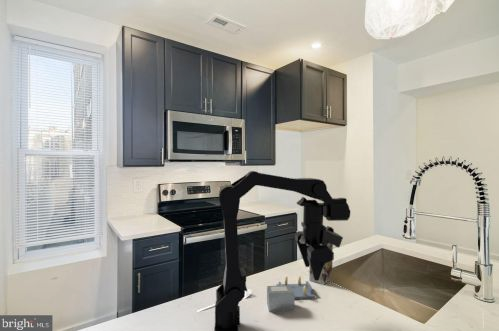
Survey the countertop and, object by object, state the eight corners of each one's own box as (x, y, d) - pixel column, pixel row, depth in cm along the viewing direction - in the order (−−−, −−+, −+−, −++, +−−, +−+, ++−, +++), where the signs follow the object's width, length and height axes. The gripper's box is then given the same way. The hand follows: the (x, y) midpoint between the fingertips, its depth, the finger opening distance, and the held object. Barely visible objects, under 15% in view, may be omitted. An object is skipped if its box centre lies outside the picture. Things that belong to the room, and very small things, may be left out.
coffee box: (324, 285, 96) (325, 242, 96) (308, 280, 100) (309, 239, 100) (333, 276, 103) (333, 237, 103) (317, 272, 107) (318, 234, 107)
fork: (194, 311, 80) (194, 305, 80) (248, 292, 91) (248, 287, 91) (198, 317, 77) (198, 310, 77) (253, 296, 88) (253, 291, 88)
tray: (280, 299, 86) (281, 288, 86) (276, 286, 95) (276, 276, 95) (315, 298, 87) (315, 287, 87) (308, 285, 96) (308, 275, 96)
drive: (269, 312, 79) (269, 292, 79) (267, 304, 83) (267, 285, 83) (294, 311, 79) (294, 291, 79) (291, 303, 84) (291, 285, 84)
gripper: (354, 229, 67) (352, 288, 67) (328, 214, 85) (327, 261, 85) (312, 228, 66) (310, 288, 66) (295, 214, 85) (294, 260, 85)
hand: (311, 273), depth 76 cm, fingers open, 9 cm apart
